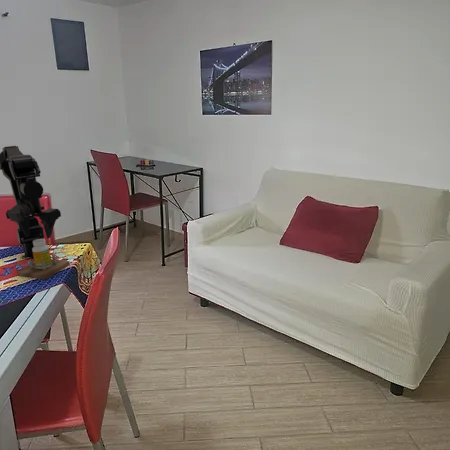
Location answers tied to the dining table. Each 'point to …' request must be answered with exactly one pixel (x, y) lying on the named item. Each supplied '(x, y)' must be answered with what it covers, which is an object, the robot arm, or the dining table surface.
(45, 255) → the supplement bottle
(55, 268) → the peg cradle
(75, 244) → the dining table surface
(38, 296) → the dining table surface
